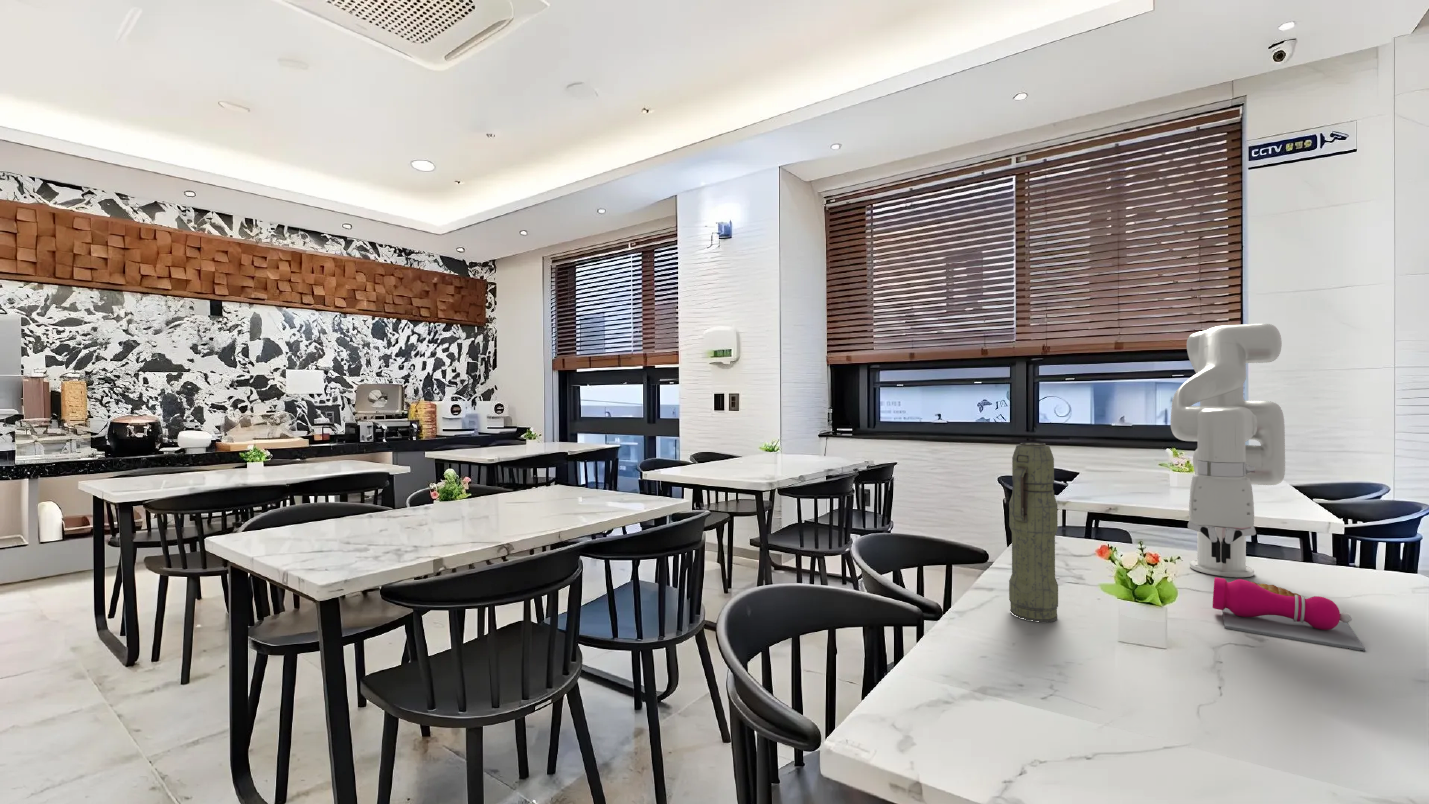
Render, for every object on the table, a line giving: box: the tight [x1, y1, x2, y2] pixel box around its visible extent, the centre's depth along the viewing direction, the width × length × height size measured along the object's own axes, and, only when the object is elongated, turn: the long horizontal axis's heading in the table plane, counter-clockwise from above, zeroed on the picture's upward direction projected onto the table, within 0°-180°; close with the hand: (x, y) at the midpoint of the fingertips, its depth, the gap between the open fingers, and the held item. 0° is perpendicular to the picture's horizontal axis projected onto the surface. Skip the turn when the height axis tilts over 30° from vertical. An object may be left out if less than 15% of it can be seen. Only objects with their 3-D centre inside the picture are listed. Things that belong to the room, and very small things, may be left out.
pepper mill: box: [1212, 576, 1352, 630], centre depth 124 cm, size 7×7×20 cm
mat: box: [1221, 608, 1366, 652], centre depth 123 cm, size 15×19×1 cm
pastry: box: [1251, 581, 1302, 597], centre depth 136 cm, size 9×7×4 cm
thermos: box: [1008, 442, 1059, 623], centre depth 130 cm, size 9×12×35 cm
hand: (1220, 561), depth 128 cm, fingers closed
